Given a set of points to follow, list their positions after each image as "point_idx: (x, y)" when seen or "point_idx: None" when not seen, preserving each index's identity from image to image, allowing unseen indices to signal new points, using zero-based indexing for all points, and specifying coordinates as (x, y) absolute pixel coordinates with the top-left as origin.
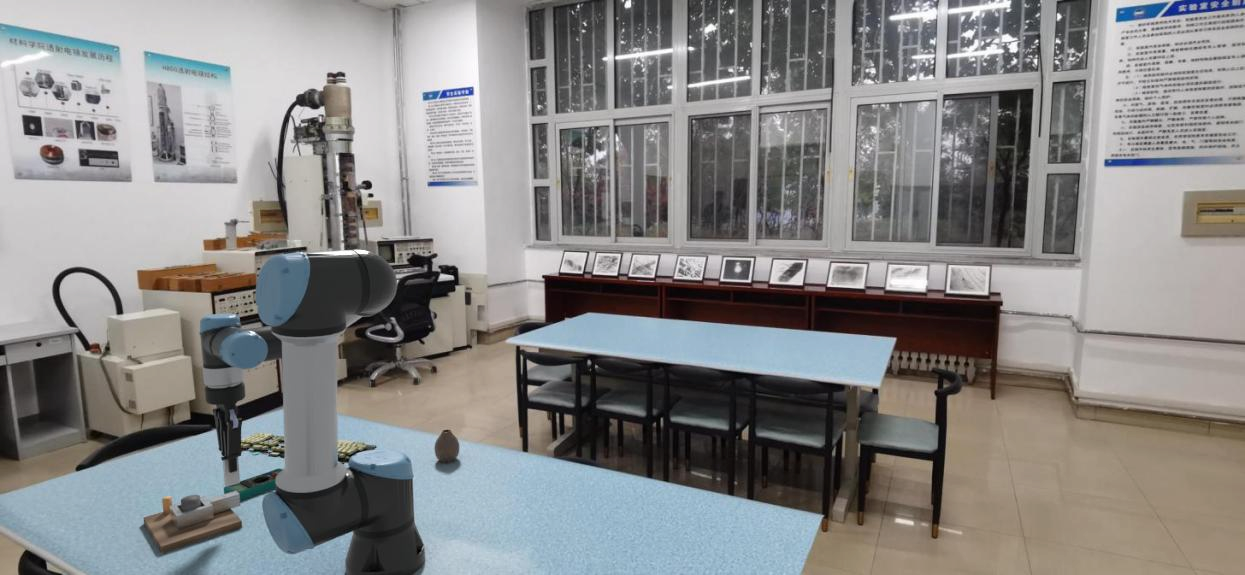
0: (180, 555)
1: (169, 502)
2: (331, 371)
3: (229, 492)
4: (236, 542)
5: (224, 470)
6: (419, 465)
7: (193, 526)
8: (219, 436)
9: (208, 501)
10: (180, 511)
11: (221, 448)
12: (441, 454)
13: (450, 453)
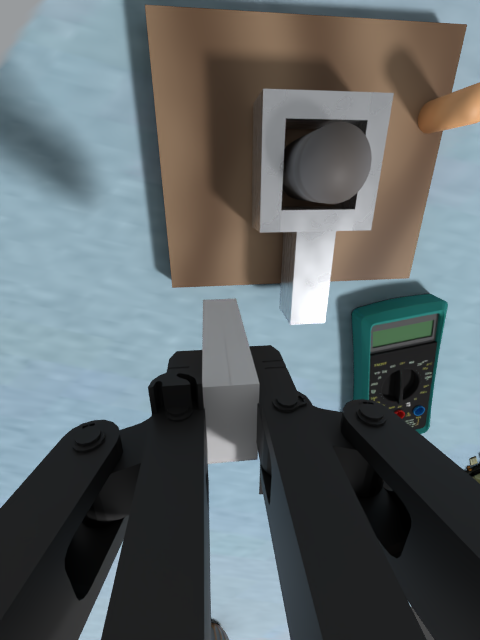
0: (87, 73)
1: (447, 112)
2: None
3: (400, 306)
4: (75, 244)
5: (222, 335)
6: (221, 599)
7: (241, 157)
8: (469, 560)
9: (309, 229)
10: (300, 116)
11: (315, 437)
12: None
13: None
